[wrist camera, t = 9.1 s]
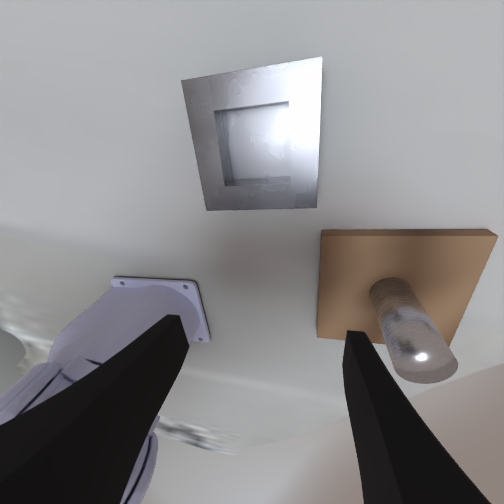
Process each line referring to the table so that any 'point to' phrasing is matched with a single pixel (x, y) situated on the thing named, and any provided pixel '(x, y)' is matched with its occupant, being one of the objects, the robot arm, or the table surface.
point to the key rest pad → (398, 275)
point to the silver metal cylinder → (410, 333)
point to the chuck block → (257, 135)
